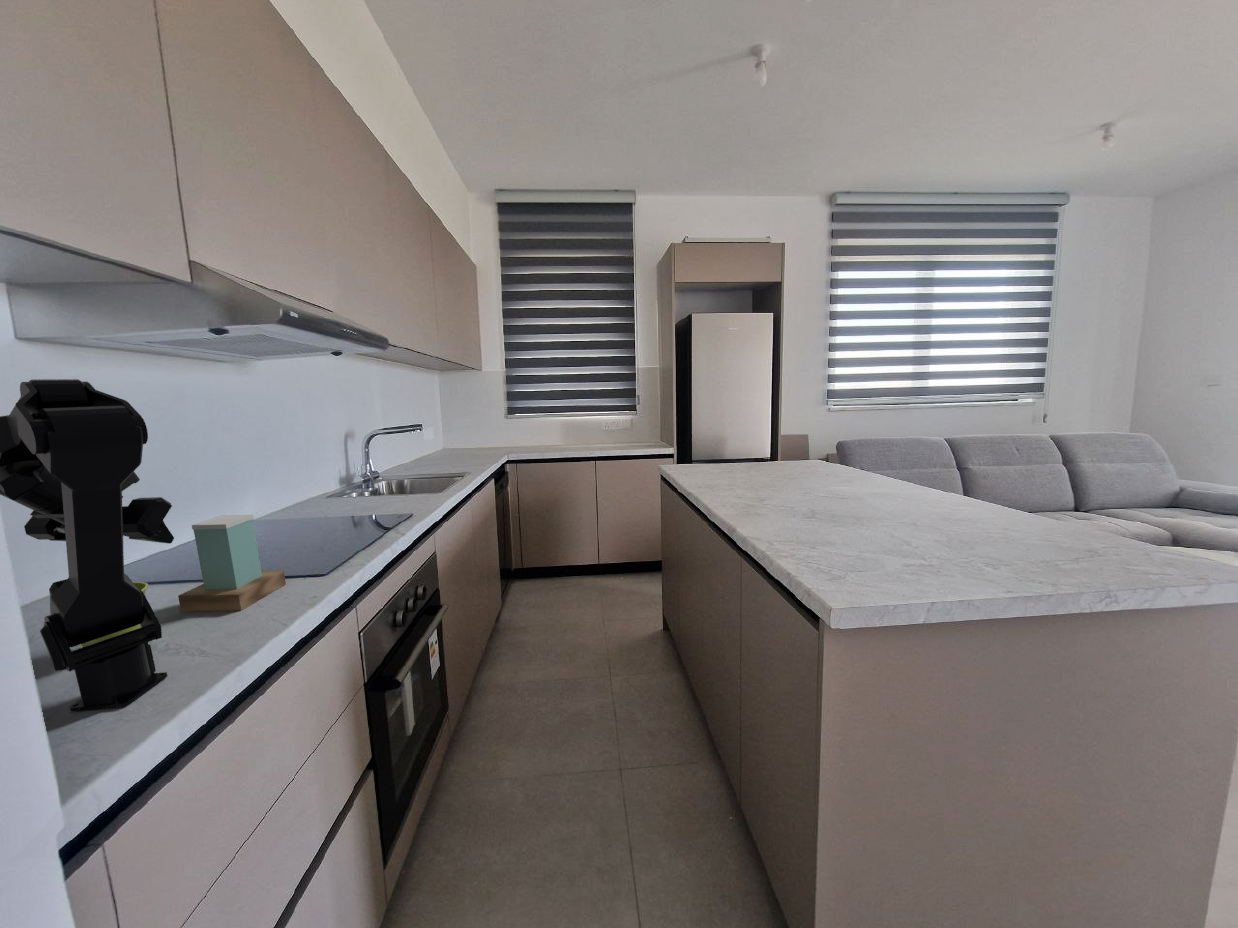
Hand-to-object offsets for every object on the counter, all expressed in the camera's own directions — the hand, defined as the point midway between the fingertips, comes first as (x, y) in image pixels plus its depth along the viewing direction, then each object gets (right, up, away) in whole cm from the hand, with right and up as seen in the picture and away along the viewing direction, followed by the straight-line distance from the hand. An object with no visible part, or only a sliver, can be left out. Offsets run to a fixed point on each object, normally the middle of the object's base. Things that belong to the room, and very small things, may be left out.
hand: (145, 541), depth 80 cm
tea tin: (+9, -9, +8) cm, 15 cm away
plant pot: (+3, -15, -8) cm, 17 cm away
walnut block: (+9, -12, +9) cm, 17 cm away
